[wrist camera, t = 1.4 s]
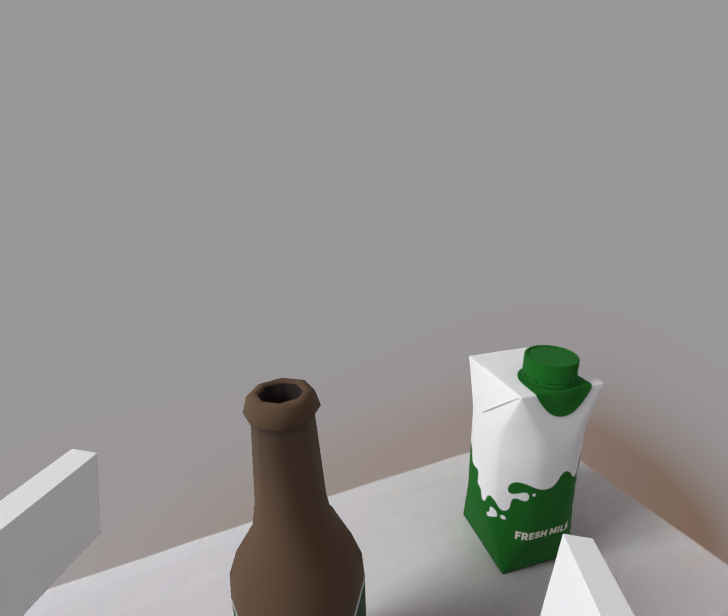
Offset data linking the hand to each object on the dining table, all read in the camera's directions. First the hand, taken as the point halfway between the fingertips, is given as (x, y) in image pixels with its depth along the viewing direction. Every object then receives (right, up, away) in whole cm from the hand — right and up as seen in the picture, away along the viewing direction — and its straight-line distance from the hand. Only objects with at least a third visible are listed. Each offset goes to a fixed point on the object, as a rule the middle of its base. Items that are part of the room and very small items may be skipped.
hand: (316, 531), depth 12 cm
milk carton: (+16, -16, +30) cm, 37 cm away
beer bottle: (-2, -21, +17) cm, 27 cm away
